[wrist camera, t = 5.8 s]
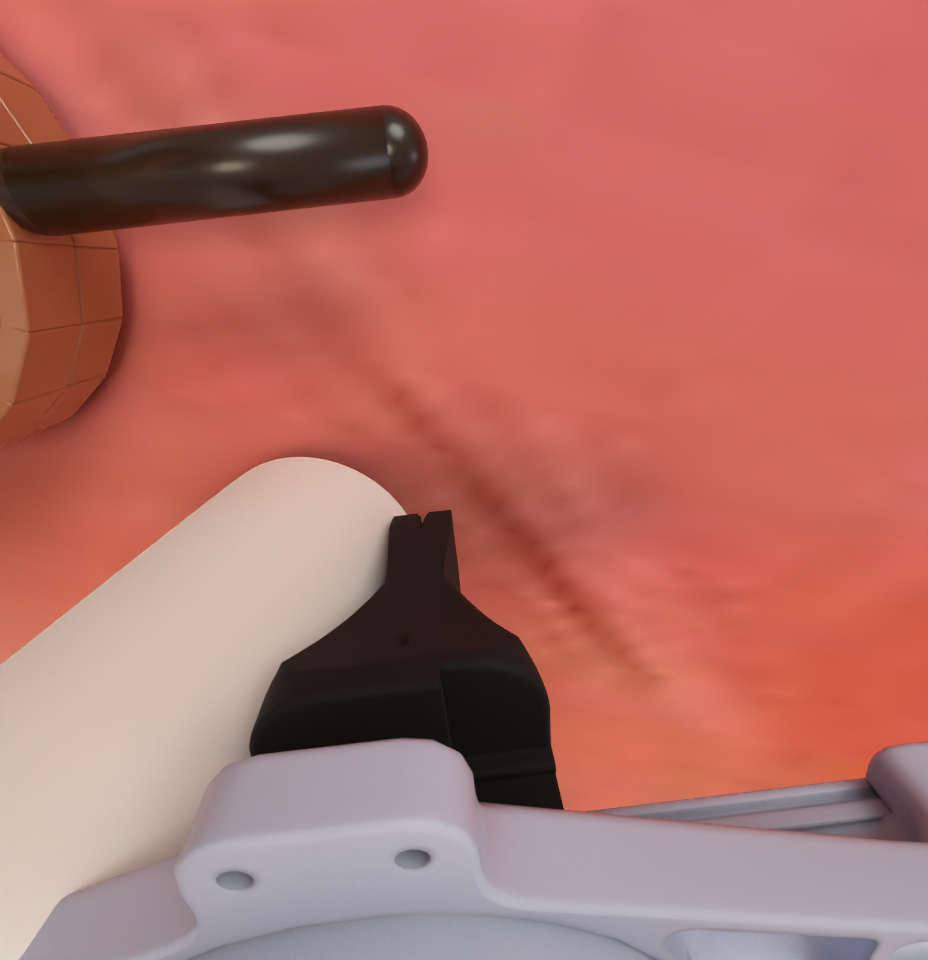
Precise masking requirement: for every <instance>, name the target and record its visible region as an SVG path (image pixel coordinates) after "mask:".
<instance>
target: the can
mask: <svg viewBox="0 0 928 960" xmlns="http://www.w3.org/2000/svg"><path fill="white" fill-rule="evenodd" d="M401 515H407V514H406V512H405V511H404V510H403V508H402V507H401V506H400V505H399V503H398V502H397V501H396V500H395V499H394V498H393V497H392V496H391V495H390V494H389V493H388V492H387V491H386V490H385V489H384V488H382V487H381V486H380V485H379V484H377V483H376V482H375V481H373V480H372V479H370V478H369V477H367V476H365V475H364V474H362V473H360V472H358V471H356V470H354V469H352V468H349V467H347V466H344V465H342V464H339V463H336V462H332V461H328V460H324V459H319V458H311V457H288V458H281V459H276V460H272V461H269V462H266V463H263V464H260V465H258V466H256V467H254V468H252V469H251V470H249V471H247V472H246V473H244V474H243V475H241V476H240V477H239V478H237V479H236V480H234V481H233V482H232V483H230V484H229V485H228V486H227V487H225V488H224V489H223V490H221V491H220V492H219V493H217V494H216V495H215V496H214V497H212V498H211V499H210V500H208V501H207V502H206V503H205V504H203V505H202V506H201V507H199V508H198V509H197V510H196V511H194V512H193V513H192V514H190V515H189V516H188V517H187V518H185V519H184V520H183V521H182V522H180V523H179V524H178V525H176V526H175V527H174V528H173V529H171V530H170V531H169V532H168V533H166V534H165V535H164V536H162V537H161V538H160V539H159V540H157V541H156V542H155V543H154V544H152V545H151V546H150V547H148V548H147V549H146V550H145V551H143V552H142V553H141V554H140V555H138V556H137V557H136V558H135V559H133V560H132V561H131V562H129V563H128V564H127V565H126V566H124V567H123V568H122V569H121V570H119V571H118V572H117V573H116V574H114V575H113V576H112V577H110V578H109V579H108V580H107V581H105V582H104V583H103V584H102V585H100V586H99V587H98V588H97V589H95V590H94V591H93V592H91V593H90V594H89V595H88V596H86V597H85V598H84V599H83V600H81V601H80V602H79V603H78V604H76V605H75V606H74V607H73V608H71V609H70V610H69V611H67V612H66V613H65V614H64V615H62V616H61V617H60V618H59V619H57V620H56V621H55V622H54V623H52V624H51V625H50V626H49V627H47V628H46V629H45V630H43V631H42V632H41V633H40V634H38V635H37V636H36V637H35V638H33V639H32V640H31V641H30V642H28V643H27V644H26V645H25V646H23V647H22V648H21V649H19V650H18V651H17V652H16V653H14V654H13V655H12V656H11V657H9V658H8V659H7V660H6V661H4V662H3V663H2V664H1V665H0V960H19V959H20V957H21V956H22V955H23V954H24V952H25V951H26V949H27V948H28V946H29V945H30V943H31V942H32V940H33V939H34V937H35V936H36V934H37V933H38V931H39V930H40V928H41V927H42V925H43V924H44V922H45V921H46V919H47V918H48V916H49V915H50V914H51V912H52V910H53V909H54V907H55V906H56V905H57V904H58V903H59V901H60V900H61V899H62V898H64V897H66V896H67V895H68V894H71V893H74V892H76V891H79V890H82V889H85V888H87V887H90V886H93V885H96V884H98V883H101V882H104V881H107V880H109V879H112V878H115V877H118V876H120V875H123V874H126V873H129V872H131V871H134V870H137V869H140V868H142V867H145V866H148V865H151V864H153V863H156V862H159V861H162V860H164V859H167V858H170V857H173V856H175V855H178V854H180V851H181V849H182V847H183V844H184V842H185V839H186V837H187V835H188V832H189V830H190V827H191V825H192V823H193V820H194V818H195V815H196V813H197V811H198V808H199V806H200V803H201V801H202V798H203V796H204V794H205V791H206V789H207V786H208V784H209V783H210V782H211V781H212V780H213V778H214V777H215V776H216V775H217V774H218V773H219V772H220V771H221V770H222V769H223V768H224V767H225V766H227V765H229V764H231V763H234V762H237V761H240V760H244V759H247V758H250V757H251V754H250V750H249V743H250V738H251V733H252V730H253V727H254V725H255V722H256V719H257V717H258V714H259V711H260V708H261V706H262V703H263V700H264V698H265V695H266V693H267V691H268V689H269V687H270V684H271V682H272V680H273V679H274V677H275V675H276V673H277V671H278V669H279V667H280V665H281V663H282V662H283V661H285V660H287V659H289V658H290V657H292V656H294V655H295V654H297V653H299V652H300V651H302V650H303V649H305V648H307V647H308V646H310V645H312V644H313V643H315V642H316V641H318V640H319V639H321V638H322V637H324V636H325V635H327V634H328V633H329V632H331V631H332V630H333V629H335V628H336V627H338V626H339V625H340V624H341V623H343V622H344V621H345V620H346V619H348V618H349V617H350V616H351V615H353V614H354V613H355V612H356V611H357V610H358V609H359V608H360V607H361V606H362V605H363V604H365V603H366V602H367V601H368V600H369V599H370V598H371V597H372V596H373V595H374V594H375V593H376V592H377V591H378V589H379V588H380V587H381V586H382V585H383V584H384V583H385V580H386V575H387V567H388V543H389V527H390V524H391V521H392V519H393V517H394V516H401Z"/></svg>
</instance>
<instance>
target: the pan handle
mask: <svg viewBox="0 0 928 960" xmlns="http://www.w3.org/2000/svg"><path fill="white" fill-rule="evenodd" d="M427 163H428V148H427V142H426V139H425V136H424V133H423V131H422V129H421V128H420V126H419V124H418V123H417V122H416V120H415V119H414V118H413V117H412V116H411V115H410V114H408V113H407V112H406V111H404V110H402V109H400V108H398V107H394V106H389V105H381V106H372V107H363V108H354V109H344V110H335V111H326V112H317V113H308V114H299V115H290V116H281V117H271V118H262V119H253V120H244V121H235V122H226V123H217V124H208V125H198V126H189V127H180V128H171V129H162V130H153V131H144V132H135V133H125V134H116V135H107V136H98V137H89V138H80V139H71V140H62V141H52V142H43V143H34V144H25V145H16V146H9V147H5V148H1V149H0V206H1V207H2V208H3V209H4V210H5V211H6V213H7V214H8V215H9V216H10V217H11V218H12V219H13V220H14V221H15V222H16V223H17V224H18V225H20V226H21V227H23V228H24V229H26V230H28V231H30V232H32V233H35V234H39V235H44V236H65V235H74V234H83V233H91V232H100V231H109V230H118V229H127V228H136V227H144V226H153V225H162V224H171V223H180V222H189V221H197V220H206V219H215V218H224V217H233V216H241V215H250V214H259V213H268V212H277V211H286V210H294V209H303V208H312V207H321V206H330V205H339V204H347V203H356V202H365V201H374V200H383V199H391V198H398V197H402V196H405V195H407V194H409V193H411V192H412V191H413V190H414V189H416V187H417V186H418V185H419V184H420V183H421V181H422V179H423V177H424V175H425V172H426V169H427Z"/></svg>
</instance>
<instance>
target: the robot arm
mask: <svg viewBox="0 0 928 960" xmlns="http://www.w3.org/2000/svg"><path fill="white" fill-rule="evenodd" d="M249 750H250V754H251V757H250V758H247V759H244V760H240V761H237V762H234V763H231V764H229V765H227V766H225V767H224V768H223V769H222V770H221V771H220V772H219V773H218V774H217V775H216V776H215V777H214V778H213V780H212V781H211V782H210V783H209V784H208V786H207V789H206V791H205V794H204V796H203V798H202V801H201V803H200V806H199V808H198V811H197V813H196V815H195V818H194V820H193V823H192V825H191V827H190V830H189V832H188V835H187V837H186V839H185V842H184V844H183V847H182V849H181V851H180V854H178V855H175V856H173V857H170V858H167V859H164V860H162V861H159V862H156V863H153V864H151V865H148V866H145V867H142V868H140V869H137V870H134V871H131V872H129V873H126V874H123V875H120V876H118V877H115V878H112V879H109V880H107V881H104V882H101V883H98V884H96V885H93V886H90V887H87V888H85V889H82V890H79V891H76V892H74V893H71V894H68V895H67V896H66V897H64V898H62V899H61V900H60V901H59V903H58V904H57V905H56V906H55V907H54V909H53V910H52V912H51V914H50V915H49V916H48V918H47V919H46V921H45V922H44V924H43V925H42V927H41V928H40V930H39V931H38V933H37V934H36V936H35V937H34V939H33V940H32V942H31V943H30V945H29V946H28V948H27V949H26V951H25V952H24V954H23V955H22V956H21V957H20V959H19V960H928V741H925V742H917V743H908V744H900V745H894V746H890V747H886V748H884V749H882V750H881V751H879V752H877V753H876V754H875V755H874V756H873V758H872V759H871V761H870V763H869V765H868V769H867V773H866V778H860V779H852V780H844V781H835V782H827V783H819V784H811V785H802V786H794V787H786V788H777V789H769V790H761V791H752V792H744V793H736V794H727V795H719V796H711V797H702V798H694V799H686V800H677V801H669V802H661V803H653V804H644V805H636V806H628V807H619V808H611V809H603V810H594V811H586V812H581V811H571V810H564V808H563V804H562V800H561V796H560V791H559V787H558V783H557V778H556V774H555V773H556V766H555V760H554V756H553V752H552V748H551V735H550V705H549V699H548V695H547V691H546V689H545V686H544V684H543V681H542V679H541V677H540V674H539V672H538V670H537V668H536V666H535V664H534V662H533V661H532V659H531V657H530V655H529V653H528V652H527V650H526V648H525V647H524V645H523V644H522V642H521V640H520V639H519V637H517V636H516V635H514V634H513V633H511V632H509V631H508V630H506V629H504V628H503V627H501V626H499V625H498V624H496V623H495V622H493V621H492V620H491V619H489V618H488V617H487V616H485V615H484V614H483V613H482V612H481V611H479V610H478V609H477V608H476V607H475V606H474V605H473V604H472V603H471V602H470V601H468V600H467V599H466V598H465V597H464V596H463V595H462V594H461V591H460V581H459V570H458V562H457V554H456V546H455V537H454V529H453V521H452V513H451V510H445V511H436V512H429V513H428V514H427V515H426V516H425V519H424V521H423V523H422V521H421V517H420V516H419V515H417V514H410V515H401V516H394V517H393V519H392V521H391V524H390V527H389V543H388V567H387V575H386V580H385V583H384V584H383V585H382V586H381V587H380V588H379V589H378V591H377V592H376V593H375V594H374V595H373V596H372V597H371V598H370V599H369V600H368V601H367V602H366V603H365V604H363V605H362V606H361V607H360V608H359V609H358V610H357V611H356V612H355V613H354V614H353V615H351V616H350V617H349V618H348V619H346V620H345V621H344V622H343V623H341V624H340V625H339V626H338V627H336V628H335V629H333V630H332V631H331V632H329V633H328V634H327V635H325V636H324V637H322V638H321V639H319V640H318V641H316V642H315V643H313V644H312V645H310V646H308V647H307V648H305V649H303V650H302V651H300V652H299V653H297V654H295V655H294V656H292V657H290V658H289V659H287V660H285V661H283V662H282V663H281V665H280V667H279V669H278V671H277V673H276V675H275V677H274V679H273V680H272V682H271V684H270V687H269V689H268V691H267V693H266V695H265V698H264V700H263V703H262V706H261V708H260V711H259V714H258V717H257V719H256V722H255V725H254V727H253V730H252V733H251V738H250V743H249Z"/></svg>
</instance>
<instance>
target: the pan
mask: <svg viewBox="0 0 928 960" xmlns="http://www.w3.org/2000/svg"><path fill="white" fill-rule="evenodd" d="M62 140H70V139H69V137H68V136H67V134H66V133H65V131H64V130H63V128H62V127H61V125H60V124H59V122H58V121H57V119H56V118H55V116H54V115H53V113H52V112H51V110H50V109H49V107H48V106H47V104H46V103H45V101H44V100H43V98H42V97H41V95H40V94H39V92H38V91H37V90H35V87H34V85H33V84H32V83H31V82H30V81H29V80H28V79H27V78H26V77H24V76H23V75H22V74H21V73H20V72H19V71H18V70H17V69H16V68H15V67H14V66H13V65H12V64H11V63H10V62H9V61H8V60H7V59H6V58H5V57H4V56H3V55H2V54H1V53H0V149H1V148H5V147H9V146H16V145H25V144H34V143H43V142H52V141H62ZM118 248H119V247H118V244H117V241H116V238H115V236H114V233H113V230H109V231H100V232H91V233H83V234H74V235H65V236H44V235H39V234H35V233H32V232H30V231H28V230H26V229H24V228H23V227H21V226H20V225H18V224H17V223H16V222H15V221H14V220H13V219H12V218H11V217H10V216H9V215H8V214H7V213H6V211H5V210H4V209H3V208H2V207H1V206H0V450H1V449H4V448H6V447H9V446H11V445H13V444H16V443H18V442H21V441H23V440H26V439H28V438H30V437H32V436H34V435H36V434H38V433H40V432H42V431H44V430H46V429H48V428H50V427H52V426H54V425H56V424H58V423H60V422H61V421H63V420H65V419H67V418H69V417H71V415H73V414H75V413H76V411H77V410H78V409H79V408H80V407H81V405H82V404H83V403H84V402H85V401H86V399H87V398H88V397H89V396H90V395H91V393H92V392H93V391H94V390H95V389H96V387H97V386H98V385H99V384H100V383H101V382H102V380H103V379H104V378H105V377H106V373H107V371H108V368H109V365H110V361H111V358H112V355H113V351H114V348H115V344H116V341H117V338H118V334H119V331H120V328H121V324H122V319H121V318H122V316H123V307H122V292H121V276H120V261H119V252H118V250H116V249H118Z"/></svg>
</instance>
